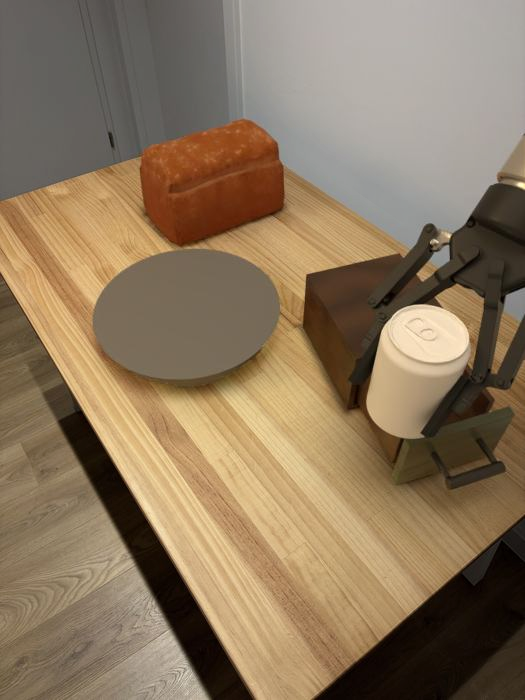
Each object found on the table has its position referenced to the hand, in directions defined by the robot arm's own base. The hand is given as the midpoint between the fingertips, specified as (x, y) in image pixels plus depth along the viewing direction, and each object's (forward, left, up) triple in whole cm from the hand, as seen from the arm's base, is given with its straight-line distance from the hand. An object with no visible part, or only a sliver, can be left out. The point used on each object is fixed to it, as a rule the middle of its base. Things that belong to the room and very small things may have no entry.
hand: (390, 407), depth 54 cm
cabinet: (+20, -10, -18) cm, 29 cm away
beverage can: (+1, -3, -4) cm, 5 cm away
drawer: (+5, -10, -17) cm, 20 cm away
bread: (+64, +2, -18) cm, 67 cm away
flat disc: (+34, +14, -18) cm, 41 cm away
